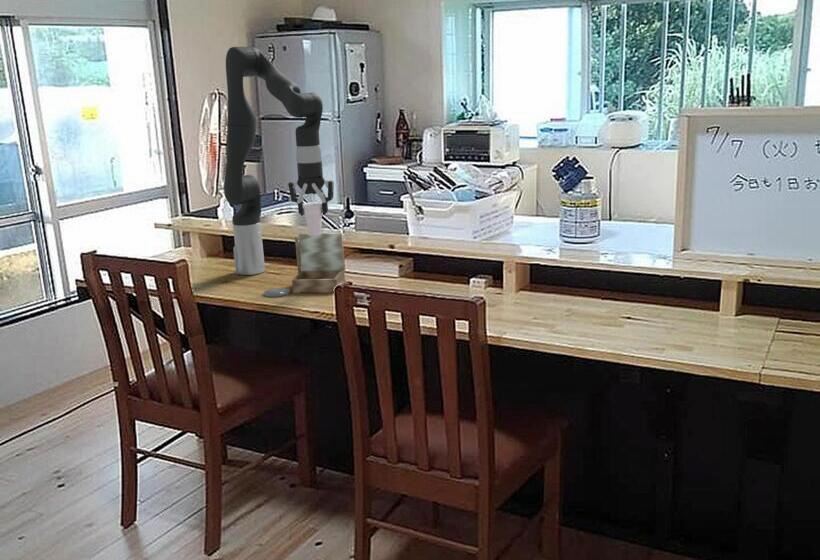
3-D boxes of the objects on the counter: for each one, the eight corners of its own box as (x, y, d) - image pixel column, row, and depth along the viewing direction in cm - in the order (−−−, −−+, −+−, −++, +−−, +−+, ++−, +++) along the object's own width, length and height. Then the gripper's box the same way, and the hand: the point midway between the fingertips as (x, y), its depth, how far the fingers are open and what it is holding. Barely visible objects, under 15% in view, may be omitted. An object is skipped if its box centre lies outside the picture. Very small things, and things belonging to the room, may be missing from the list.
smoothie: (323, 236, 248) (320, 190, 244) (303, 237, 248) (299, 191, 244) (326, 232, 254) (323, 187, 250) (306, 232, 254) (302, 188, 251)
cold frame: (289, 292, 251) (284, 242, 247) (299, 282, 263) (295, 233, 259) (337, 292, 249) (333, 241, 245) (345, 281, 261) (341, 232, 257)
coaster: (260, 297, 247) (260, 295, 247) (268, 290, 255) (268, 288, 255) (286, 297, 246) (285, 295, 246) (292, 289, 254) (292, 288, 254)
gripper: (335, 158, 248) (338, 212, 252) (289, 159, 250) (293, 213, 254) (329, 161, 241) (333, 216, 245) (282, 162, 243) (287, 217, 247)
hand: (313, 214), depth 250 cm, fingers closed on smoothie, 6 cm apart
